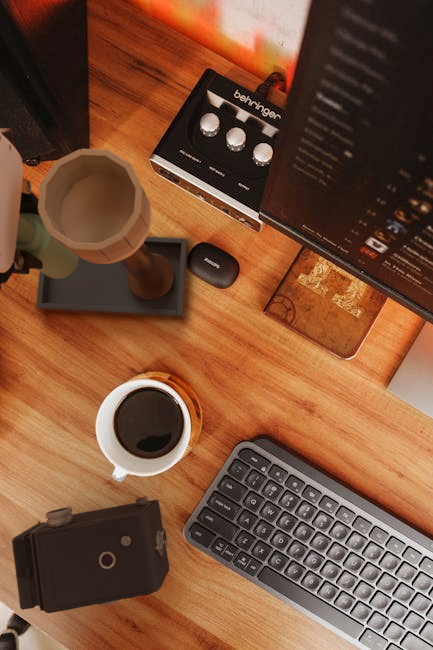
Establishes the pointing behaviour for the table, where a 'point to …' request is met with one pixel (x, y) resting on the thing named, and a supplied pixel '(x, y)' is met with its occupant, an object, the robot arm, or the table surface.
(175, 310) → the tray
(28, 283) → the table surface
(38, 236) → the bottle
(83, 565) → the camera
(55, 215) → the goblet
